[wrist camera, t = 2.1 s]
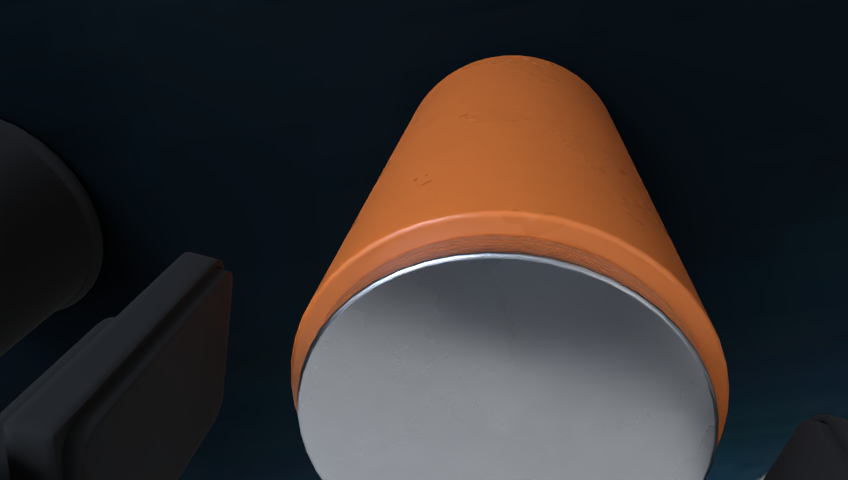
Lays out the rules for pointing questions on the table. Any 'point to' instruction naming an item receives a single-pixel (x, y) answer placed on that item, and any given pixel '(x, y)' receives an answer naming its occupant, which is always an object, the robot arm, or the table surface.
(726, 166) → the table surface
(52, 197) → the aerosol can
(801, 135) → the table surface
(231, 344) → the table surface
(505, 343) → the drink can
